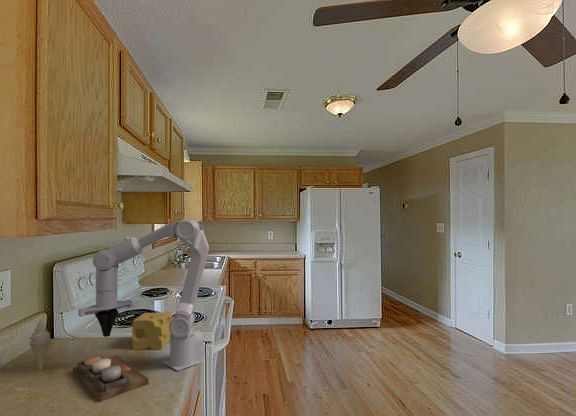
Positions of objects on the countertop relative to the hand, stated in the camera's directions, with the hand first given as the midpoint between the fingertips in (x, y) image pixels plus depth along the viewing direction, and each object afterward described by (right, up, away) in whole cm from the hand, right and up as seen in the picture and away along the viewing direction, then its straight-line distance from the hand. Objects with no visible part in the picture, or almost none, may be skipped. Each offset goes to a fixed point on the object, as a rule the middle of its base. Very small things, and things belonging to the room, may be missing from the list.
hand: (106, 335), depth 105 cm
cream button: (+3, -6, -9) cm, 11 cm away
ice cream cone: (-18, -10, -2) cm, 21 cm away
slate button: (+8, -6, -13) cm, 17 cm away
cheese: (+7, -10, +18) cm, 22 cm away
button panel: (+4, -9, -7) cm, 13 cm away
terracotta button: (-2, -7, -4) cm, 8 cm away
